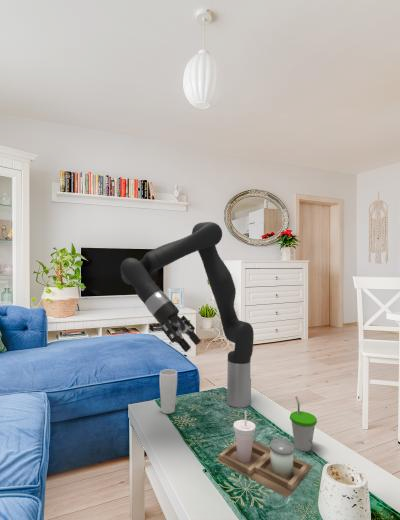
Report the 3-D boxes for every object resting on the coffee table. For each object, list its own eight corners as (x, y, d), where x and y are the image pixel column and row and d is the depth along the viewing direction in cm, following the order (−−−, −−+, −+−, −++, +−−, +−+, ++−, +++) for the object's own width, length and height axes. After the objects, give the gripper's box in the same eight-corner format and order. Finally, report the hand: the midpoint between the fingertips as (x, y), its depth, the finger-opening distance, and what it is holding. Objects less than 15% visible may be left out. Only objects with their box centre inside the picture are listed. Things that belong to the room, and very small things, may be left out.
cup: (317, 460, 94) (317, 409, 94) (289, 455, 97) (289, 405, 97) (315, 446, 102) (316, 398, 102) (289, 441, 104) (290, 395, 104)
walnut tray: (245, 440, 104) (245, 432, 104) (313, 470, 90) (313, 460, 90) (215, 464, 92) (215, 454, 92) (287, 502, 78) (287, 491, 78)
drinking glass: (174, 416, 120) (174, 375, 120) (156, 414, 121) (157, 374, 121) (178, 408, 126) (179, 369, 126) (162, 406, 128) (162, 368, 128)
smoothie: (240, 468, 89) (240, 417, 89) (228, 454, 95) (229, 407, 95) (259, 462, 91) (260, 412, 91) (247, 450, 97) (248, 403, 97)
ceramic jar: (276, 461, 92) (276, 435, 92) (298, 470, 88) (298, 444, 88) (265, 472, 87) (265, 445, 87) (287, 483, 83) (287, 455, 83)
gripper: (158, 302, 99) (193, 344, 95) (178, 297, 112) (209, 334, 108) (143, 319, 101) (176, 360, 97) (164, 312, 114) (194, 348, 110)
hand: (193, 346), depth 102 cm, fingers open, 8 cm apart
